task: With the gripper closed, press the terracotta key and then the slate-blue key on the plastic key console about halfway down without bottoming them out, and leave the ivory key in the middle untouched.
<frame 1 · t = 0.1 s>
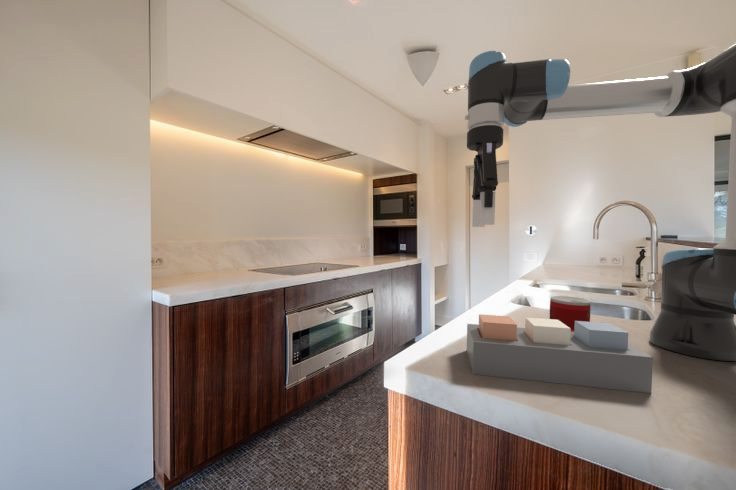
hand: (482, 226, 68), 28 cm above the countertop, fingers open, 13 cm apart
canned food: (568, 345, 73), on the countertop
key console: (545, 368, 59), on the countertop
slate key: (599, 339, 57), point 6 cm above the countertop, slide at 0.0 cm
terracotta key: (496, 331, 61), point 6 cm above the countertop, slide at 0.0 cm
ivory key: (546, 335, 59), point 6 cm above the countertop, slide at 0.0 cm
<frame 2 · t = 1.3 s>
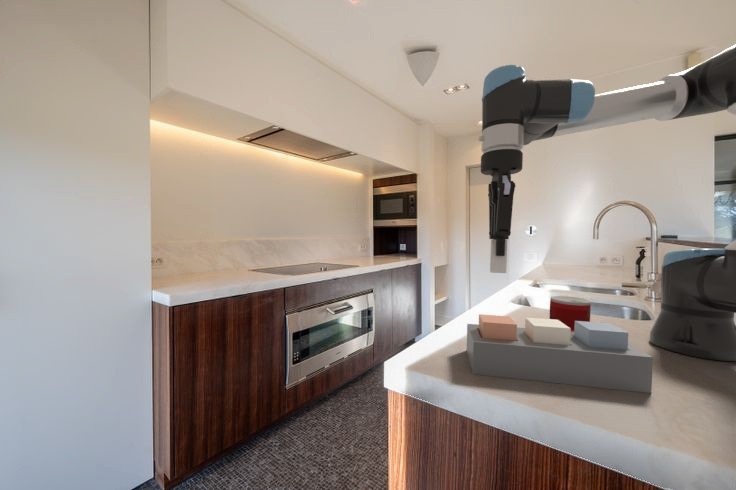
hand: (498, 272, 61), 18 cm above the countertop, fingers closed
nothing on the countertop moved.
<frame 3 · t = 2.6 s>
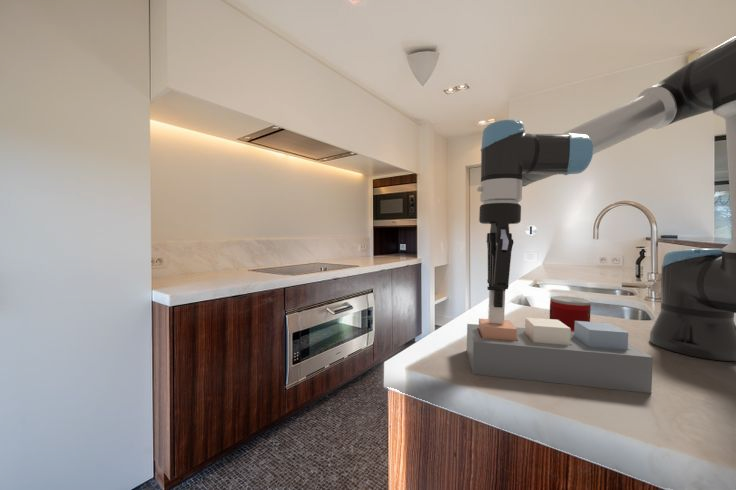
hand: (496, 322, 61), 8 cm above the countertop, fingers closed
terracotta key: (496, 335, 61), point 6 cm above the countertop, slide at 0.9 cm, touching gripper
everything else where it was.
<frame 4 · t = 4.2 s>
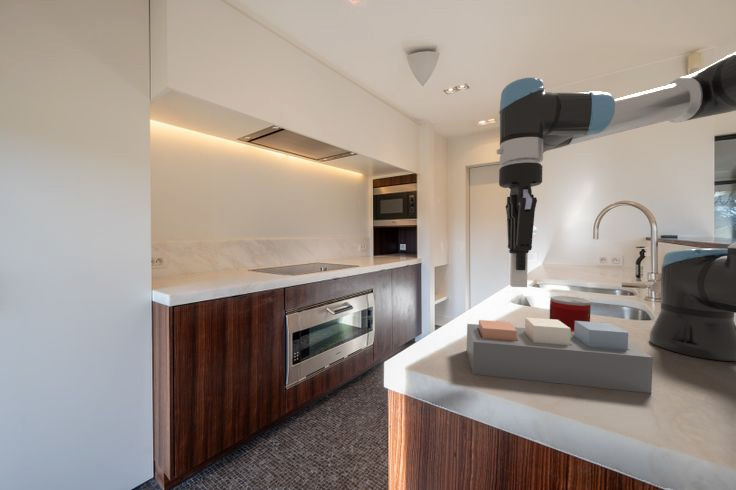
hand: (518, 286, 60), 16 cm above the countertop, fingers closed
terracotta key: (496, 337, 61), point 5 cm above the countertop, slide at 1.2 cm
everything else where it was.
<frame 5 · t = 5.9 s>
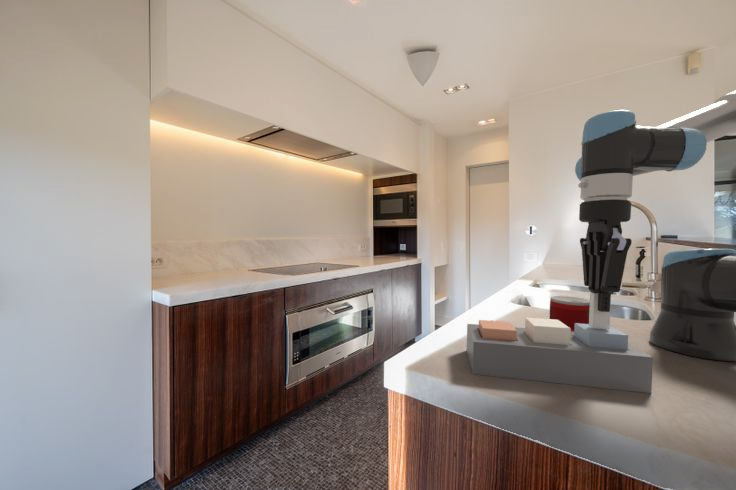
hand: (598, 327, 57), 9 cm above the countertop, fingers closed
slate key: (599, 342, 57), point 6 cm above the countertop, slide at 0.5 cm, touching gripper
everything else where it was.
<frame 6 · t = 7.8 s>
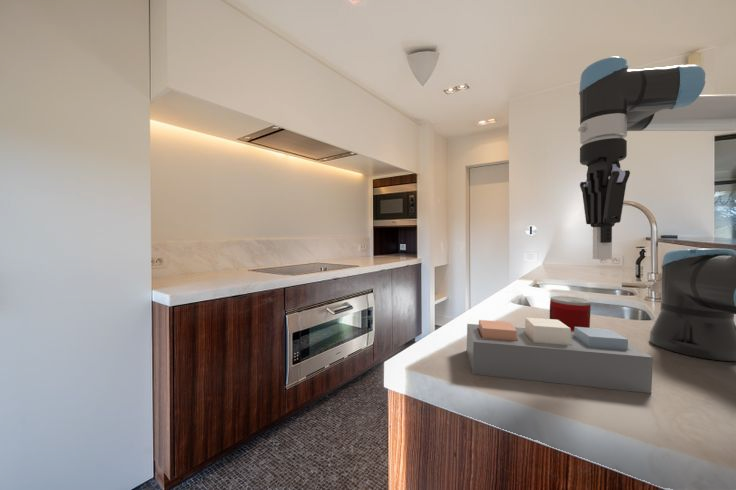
hand: (602, 258, 62), 21 cm above the countertop, fingers closed
slate key: (599, 345, 57), point 5 cm above the countertop, slide at 1.2 cm
everything else where it was.
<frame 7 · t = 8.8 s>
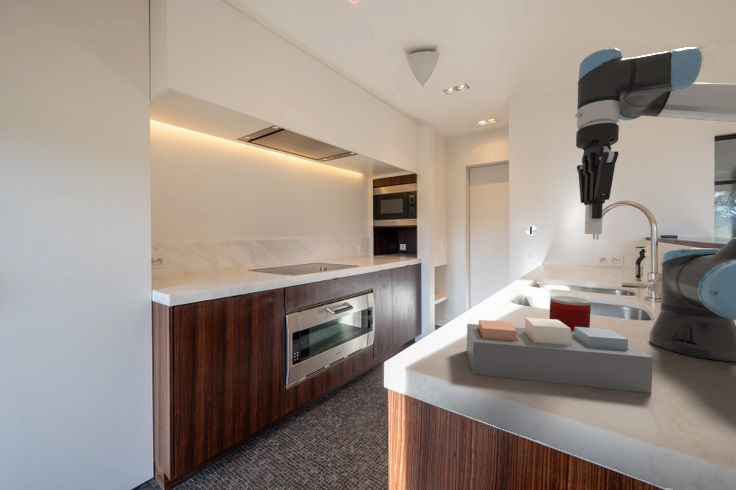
hand: (593, 233, 68), 26 cm above the countertop, fingers closed
nothing on the countertop moved.
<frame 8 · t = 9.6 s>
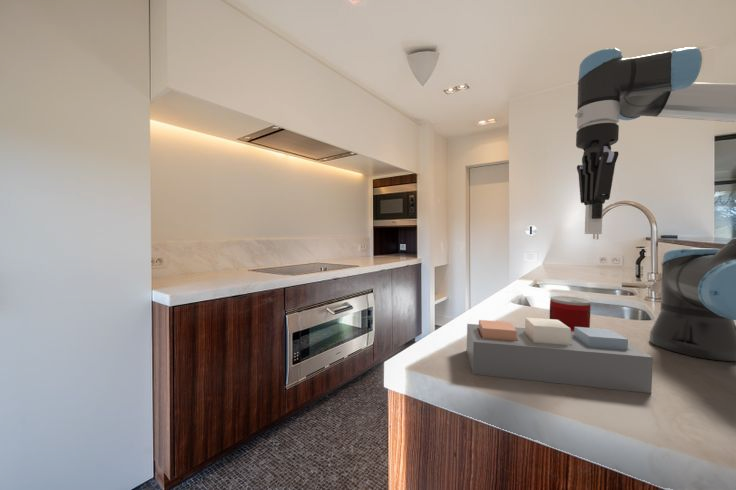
hand: (593, 233, 68), 26 cm above the countertop, fingers closed
nothing on the countertop moved.
at the end: terracotta key slide at 1.2 cm; slate key slide at 1.2 cm; ivory key slide at 0.0 cm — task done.
